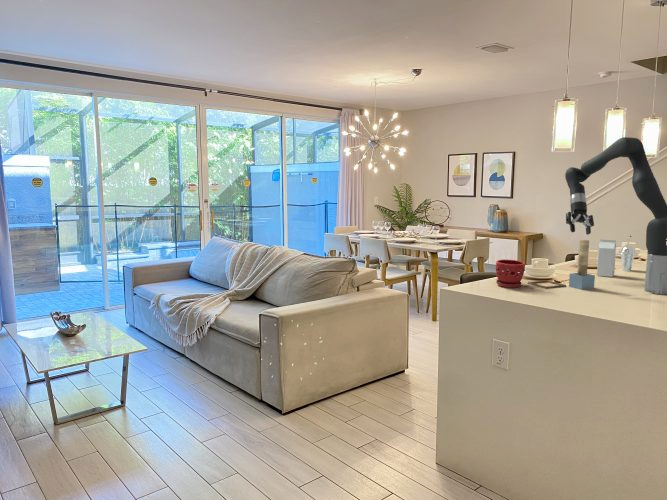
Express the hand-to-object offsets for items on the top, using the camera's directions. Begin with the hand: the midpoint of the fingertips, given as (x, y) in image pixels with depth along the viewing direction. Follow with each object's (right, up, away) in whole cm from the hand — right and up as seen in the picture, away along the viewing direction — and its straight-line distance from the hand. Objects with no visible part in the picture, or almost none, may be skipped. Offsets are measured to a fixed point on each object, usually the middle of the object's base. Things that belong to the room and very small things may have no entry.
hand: (580, 233), depth 251 cm
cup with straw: (+38, -20, +25) cm, 49 cm away
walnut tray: (-24, -26, -16) cm, 39 cm away
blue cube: (-11, -27, -21) cm, 36 cm away
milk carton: (+18, -22, +11) cm, 31 cm away
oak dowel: (-11, -26, -22) cm, 35 cm away
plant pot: (-41, -26, -13) cm, 50 cm away
